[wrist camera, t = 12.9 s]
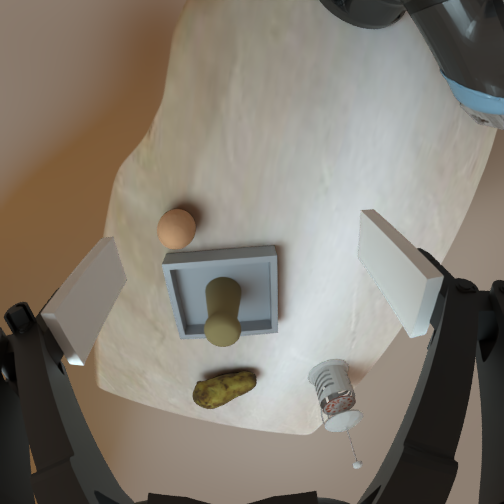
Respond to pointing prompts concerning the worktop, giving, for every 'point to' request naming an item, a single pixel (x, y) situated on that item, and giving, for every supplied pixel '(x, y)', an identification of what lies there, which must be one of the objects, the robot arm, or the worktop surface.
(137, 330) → the worktop surface
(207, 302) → the cork
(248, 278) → the grey bin
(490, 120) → the coffee box
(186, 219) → the egg
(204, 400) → the potato
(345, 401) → the french press
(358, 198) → the worktop surface
